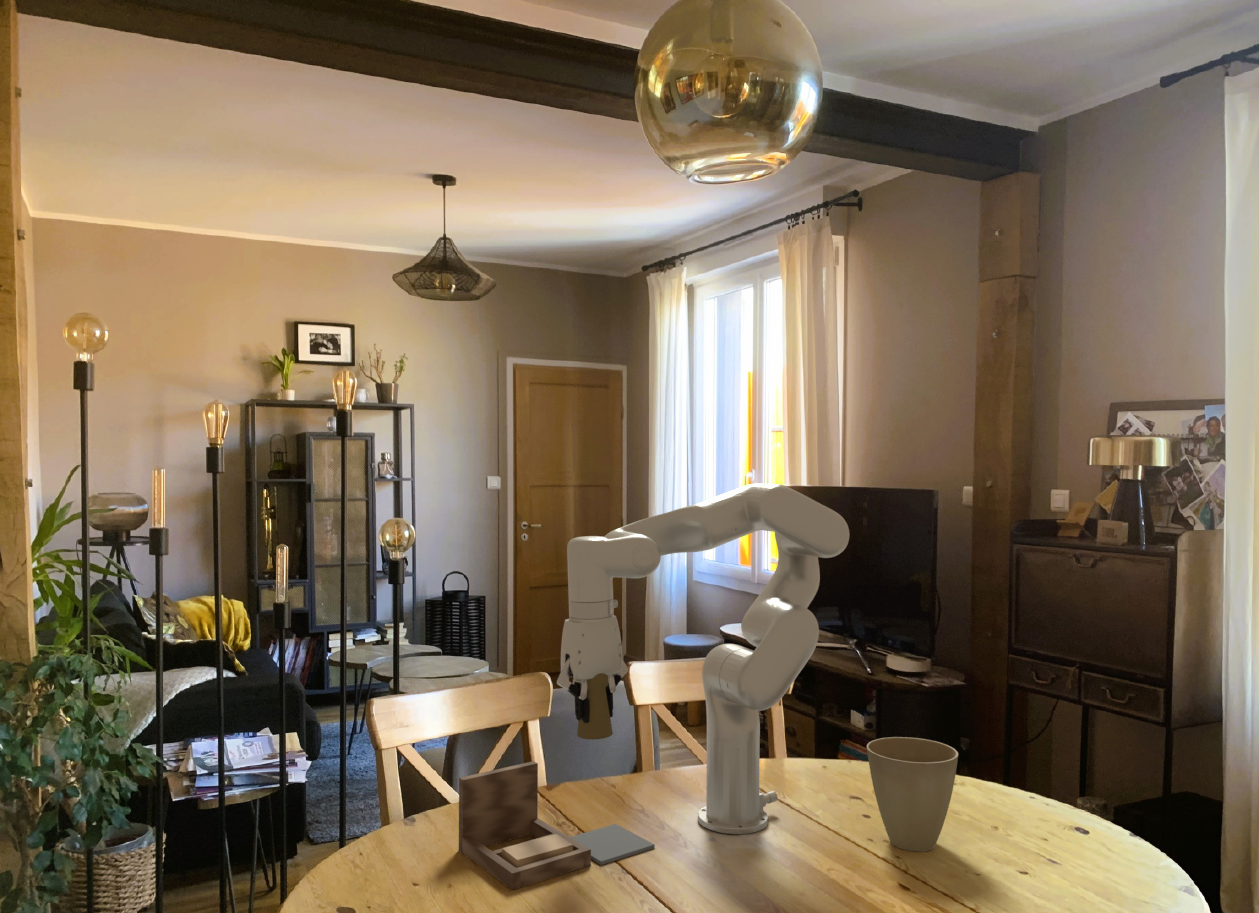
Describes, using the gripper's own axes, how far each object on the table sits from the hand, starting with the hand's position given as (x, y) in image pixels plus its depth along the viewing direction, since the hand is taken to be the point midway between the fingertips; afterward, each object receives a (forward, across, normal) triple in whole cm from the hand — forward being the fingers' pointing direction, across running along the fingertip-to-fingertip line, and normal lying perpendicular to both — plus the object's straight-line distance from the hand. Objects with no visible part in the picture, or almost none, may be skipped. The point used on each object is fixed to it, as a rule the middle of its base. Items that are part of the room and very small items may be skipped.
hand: (594, 717), depth 153 cm
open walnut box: (+21, +13, -3) cm, 25 cm away
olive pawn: (+3, 0, 0) cm, 3 cm away
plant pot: (+24, -44, +31) cm, 58 cm away
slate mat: (+22, -1, +1) cm, 22 cm away
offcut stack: (+21, +13, +1) cm, 25 cm away
